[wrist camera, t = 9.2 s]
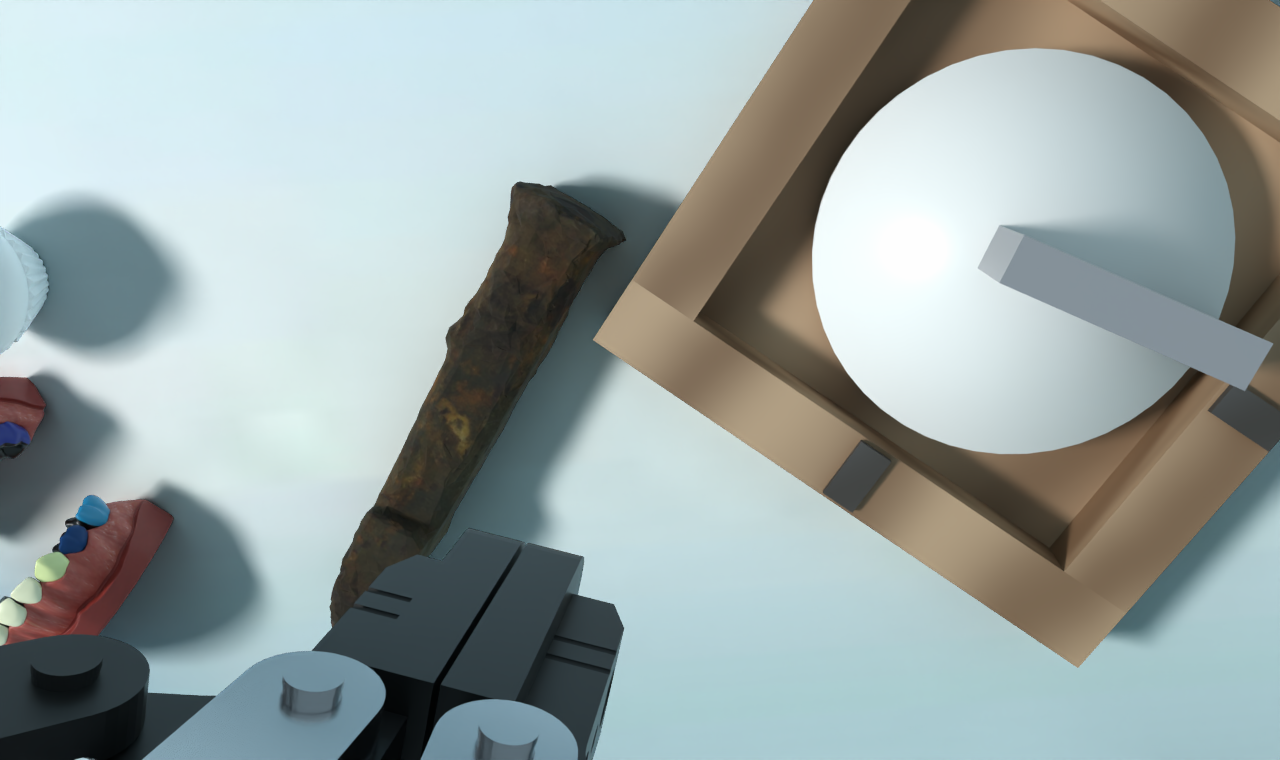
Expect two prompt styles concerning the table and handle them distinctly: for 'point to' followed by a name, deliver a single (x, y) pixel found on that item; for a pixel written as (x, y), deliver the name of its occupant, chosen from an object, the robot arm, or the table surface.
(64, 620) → the teeth model
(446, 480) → the hand tool
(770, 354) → the wooden frame
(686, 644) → the table surface
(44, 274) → the white fluted cup
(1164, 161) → the dial
